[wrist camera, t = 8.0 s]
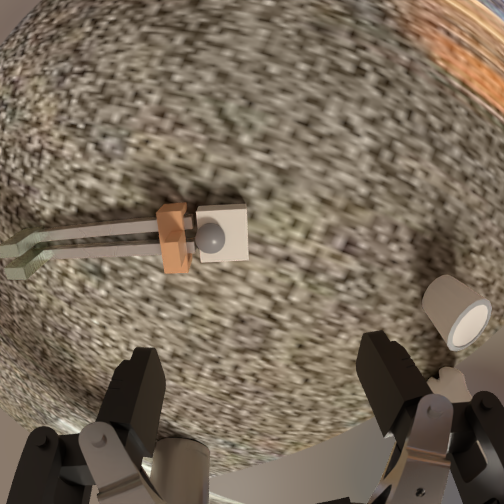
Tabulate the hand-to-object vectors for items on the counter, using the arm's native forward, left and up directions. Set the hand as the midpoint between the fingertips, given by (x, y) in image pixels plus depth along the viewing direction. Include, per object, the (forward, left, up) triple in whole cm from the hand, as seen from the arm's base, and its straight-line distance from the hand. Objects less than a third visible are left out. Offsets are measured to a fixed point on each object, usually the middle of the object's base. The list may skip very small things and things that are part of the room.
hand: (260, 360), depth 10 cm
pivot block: (-2, +2, -16) cm, 17 cm away
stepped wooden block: (-4, +4, -16) cm, 17 cm away
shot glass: (+10, -23, -16) cm, 30 cm away
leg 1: (-9, +10, -16) cm, 21 cm away
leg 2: (-11, +9, -16) cm, 21 cm away
